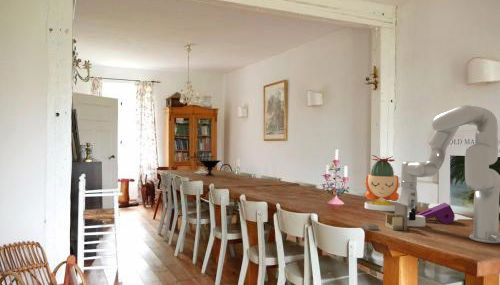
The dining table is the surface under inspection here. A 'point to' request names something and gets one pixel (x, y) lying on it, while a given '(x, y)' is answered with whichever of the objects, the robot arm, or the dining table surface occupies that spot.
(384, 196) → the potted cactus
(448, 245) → the dining table surface
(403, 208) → the cup bracket
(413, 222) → the cream rail
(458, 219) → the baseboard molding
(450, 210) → the mounting bracket
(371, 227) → the rest block
